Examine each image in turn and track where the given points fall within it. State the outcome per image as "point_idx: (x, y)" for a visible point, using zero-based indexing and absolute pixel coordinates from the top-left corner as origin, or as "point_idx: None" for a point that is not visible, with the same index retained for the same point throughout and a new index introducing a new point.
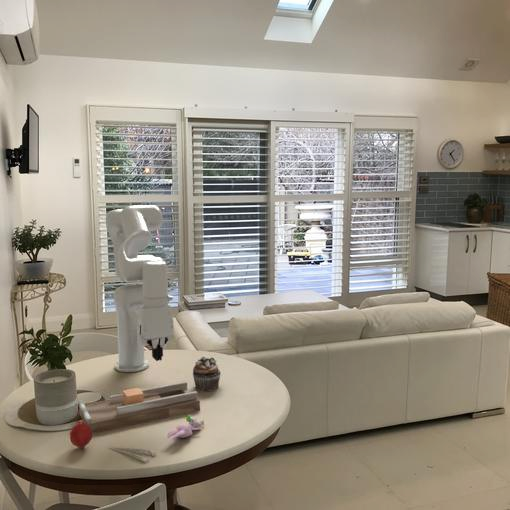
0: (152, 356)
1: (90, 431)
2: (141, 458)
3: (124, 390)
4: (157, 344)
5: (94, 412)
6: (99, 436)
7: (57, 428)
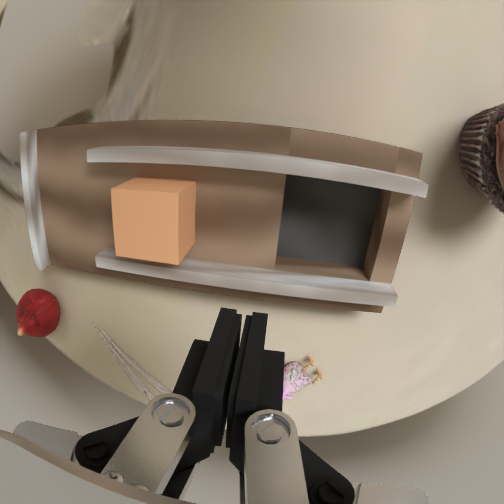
0: (195, 343)
1: (48, 331)
2: (148, 398)
3: (116, 190)
4: (231, 435)
5: (55, 203)
6: (80, 275)
7: (13, 184)
